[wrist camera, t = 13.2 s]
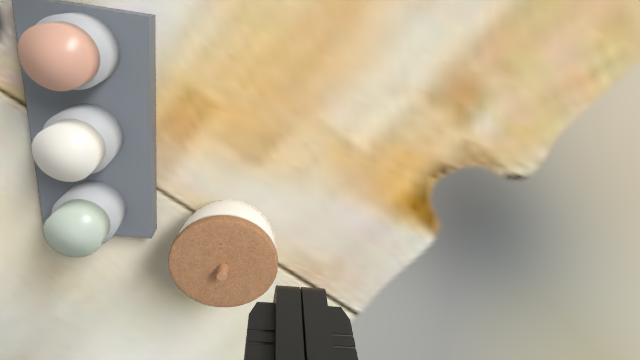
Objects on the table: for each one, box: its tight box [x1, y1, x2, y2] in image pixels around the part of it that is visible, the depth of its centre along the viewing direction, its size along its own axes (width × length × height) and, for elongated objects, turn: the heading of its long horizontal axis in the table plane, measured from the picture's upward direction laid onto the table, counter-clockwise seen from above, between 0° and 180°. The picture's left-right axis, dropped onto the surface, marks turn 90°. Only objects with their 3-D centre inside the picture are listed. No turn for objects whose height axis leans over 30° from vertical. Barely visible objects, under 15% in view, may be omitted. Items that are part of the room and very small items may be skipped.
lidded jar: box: [168, 200, 278, 307], centre depth 44 cm, size 11×11×9 cm
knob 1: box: [18, 21, 100, 91], centre depth 33 cm, size 5×5×2 cm
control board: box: [12, 0, 157, 244], centre depth 40 cm, size 23×11×5 cm, turn 171°
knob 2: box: [43, 199, 110, 257], centre depth 39 cm, size 5×5×2 cm
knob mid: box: [32, 118, 106, 182], centre depth 36 cm, size 5×5×2 cm
